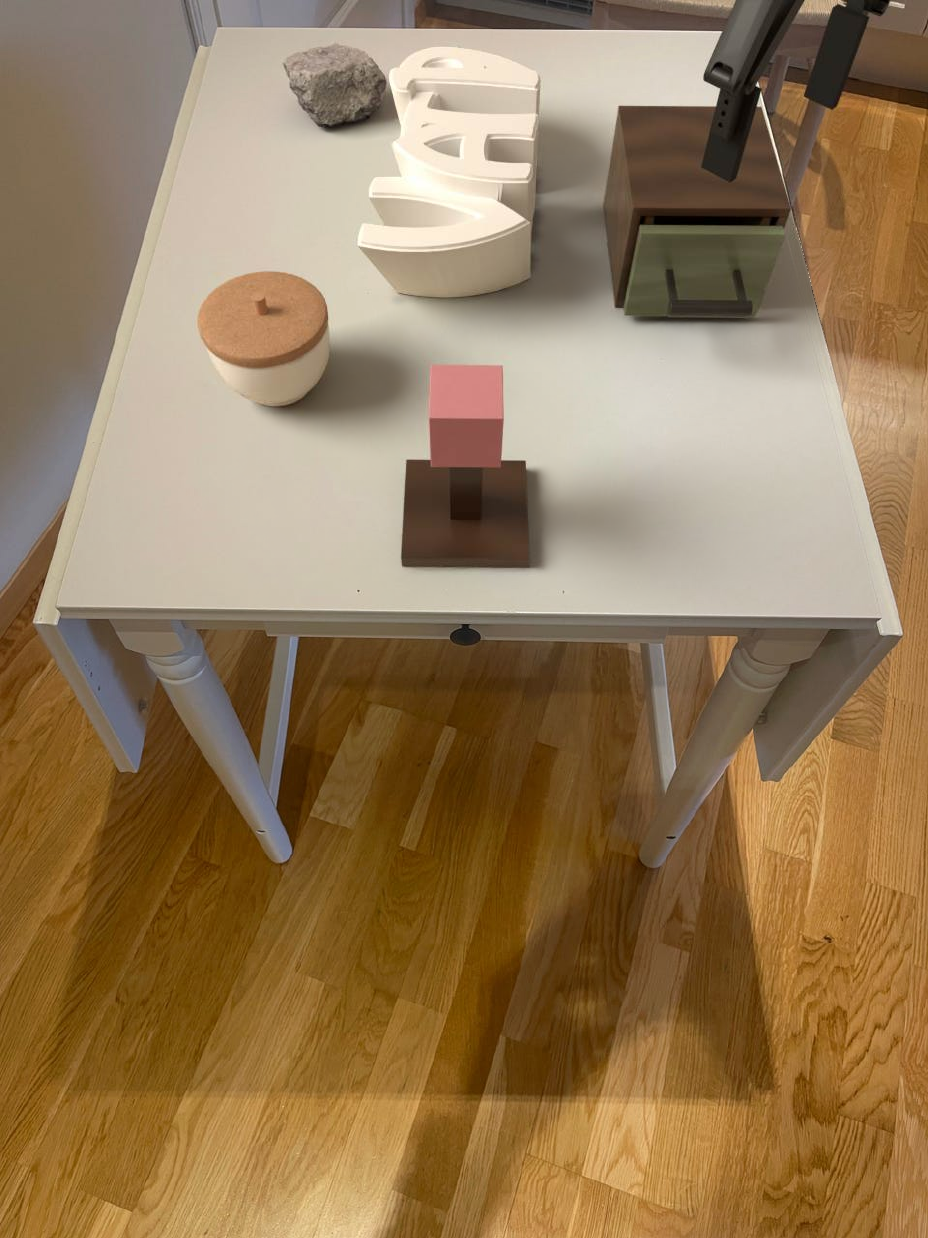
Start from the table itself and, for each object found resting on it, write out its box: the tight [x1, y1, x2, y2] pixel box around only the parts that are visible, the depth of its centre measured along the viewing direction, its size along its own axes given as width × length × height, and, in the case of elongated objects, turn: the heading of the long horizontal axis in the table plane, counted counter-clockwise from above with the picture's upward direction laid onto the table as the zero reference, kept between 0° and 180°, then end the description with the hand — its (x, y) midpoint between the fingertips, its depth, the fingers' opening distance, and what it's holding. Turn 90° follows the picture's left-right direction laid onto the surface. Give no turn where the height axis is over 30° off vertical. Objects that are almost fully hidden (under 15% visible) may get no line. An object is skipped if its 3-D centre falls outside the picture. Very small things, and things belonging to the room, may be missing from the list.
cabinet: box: [602, 105, 792, 309], centre depth 84 cm, size 16×14×11 cm
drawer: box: [623, 216, 786, 319], centre depth 81 cm, size 20×12×9 cm, turn 0°
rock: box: [282, 42, 388, 128], centre depth 99 cm, size 11×8×10 cm
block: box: [428, 364, 505, 468], centre depth 62 cm, size 5×5×5 cm
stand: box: [400, 459, 530, 568], centre depth 68 cm, size 10×10×9 cm
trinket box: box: [197, 270, 331, 407], centre depth 75 cm, size 11×11×9 cm
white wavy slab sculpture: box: [357, 46, 541, 298], centre depth 87 cm, size 35×16×11 cm, turn 172°
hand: (770, 136), depth 68 cm, fingers open, 13 cm apart
